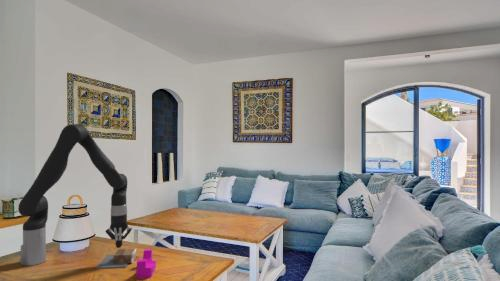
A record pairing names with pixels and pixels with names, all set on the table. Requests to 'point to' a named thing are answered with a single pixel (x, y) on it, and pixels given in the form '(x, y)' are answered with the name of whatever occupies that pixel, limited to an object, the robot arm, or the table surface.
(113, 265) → the mat
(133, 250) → the slab
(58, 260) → the table surface
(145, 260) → the toy block
